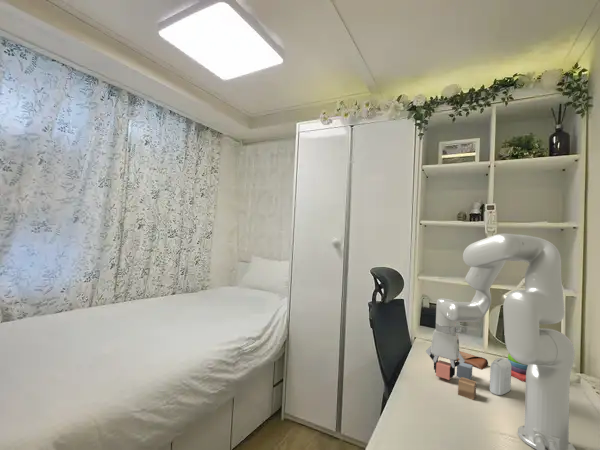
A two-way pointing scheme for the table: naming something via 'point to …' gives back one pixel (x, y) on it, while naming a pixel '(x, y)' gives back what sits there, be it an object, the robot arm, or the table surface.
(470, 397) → the tan block
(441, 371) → the pink cube
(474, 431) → the table surface
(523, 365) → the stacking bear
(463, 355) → the sunglasses case
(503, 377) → the photo printer
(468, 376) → the slate block
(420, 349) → the table surface
